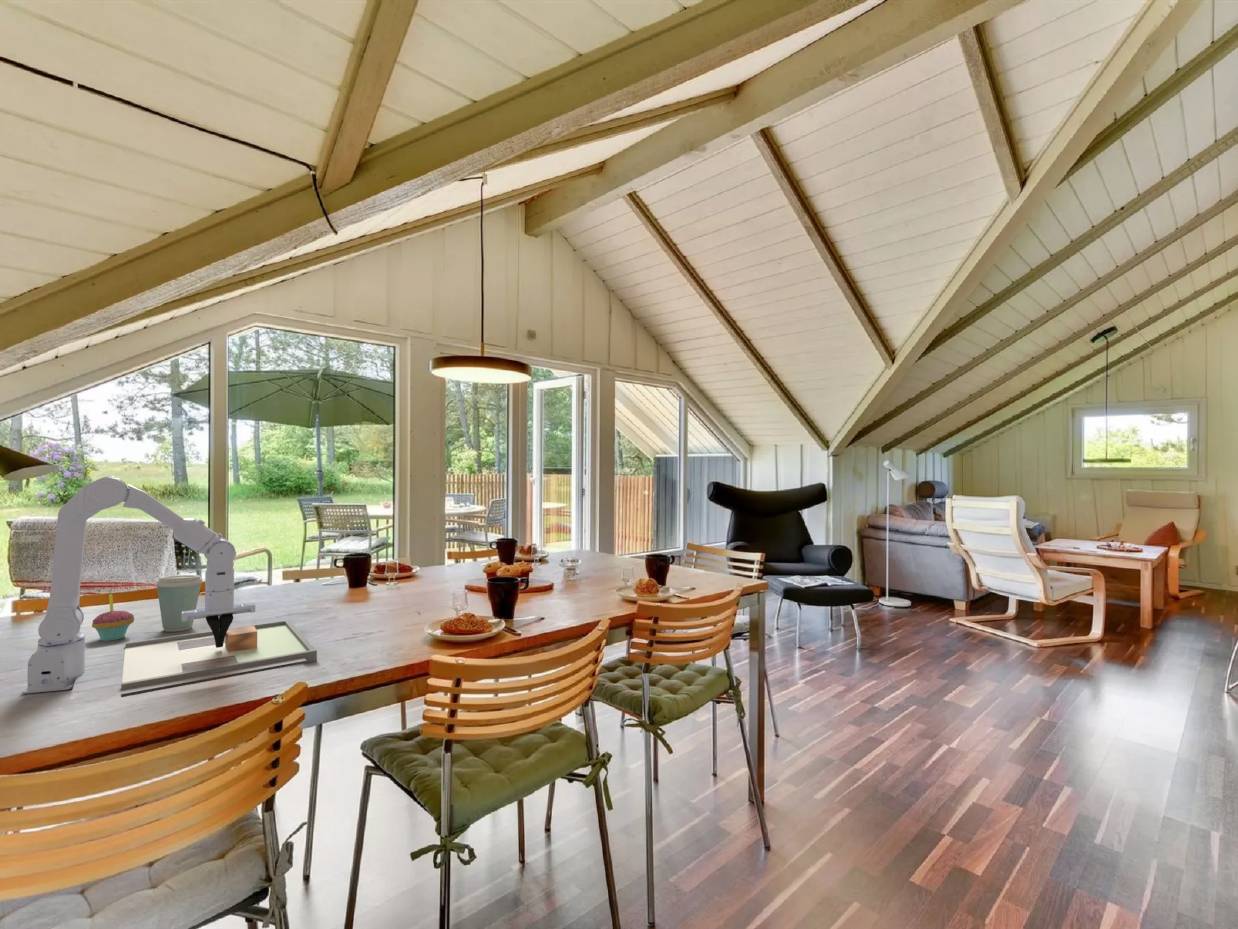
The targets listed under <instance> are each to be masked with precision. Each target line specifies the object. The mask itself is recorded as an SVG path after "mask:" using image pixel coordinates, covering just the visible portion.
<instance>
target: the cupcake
mask: <svg viewBox="0 0 1238 929" xmlns="http://www.w3.org/2000/svg"><path fill="white" fill-rule="evenodd" d="M108 597H109V598H108V599H109V611H107V612H102V613H100V614H98V615H97V616H96V617H95V618H93V619H92V624H91V627H92V628H93V629H95V630H96V632H97V633H98V636H99V639H100V640H101V641H104V642H106V641H109V642H110V641H115V640H120V639H123V638H124V637H126V633H127V630H128V629H129V627H130V625H131V624H133V623H134V621H135V617H134V616H135V615H134V614H132V613H130V612H129V611H127V610H126V611H125V610H114V601H113V600H114V597H113V594H112V592H111V591H109V595H108Z"/></svg>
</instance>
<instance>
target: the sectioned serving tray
mask: <svg viewBox="0 0 1238 929" xmlns="http://www.w3.org/2000/svg"><path fill="white" fill-rule="evenodd" d="M250 626H254V627H255V628H256V630H257V648H253V649H246V650H240V651H234V652H227V649H226V647H225V642H224V643H223V647H219V648H216V645H215V644H213V645H212V644H210V645H207V646H206V645H205V646H198V647H192V648H186V649H179V645H178V644H179V643H184V642H189V641H191V642H192V641H196V640H203V639H210V638H214V635H213V632H212V630H211V629H210V630H207V631H206V630H205V631H199V632H192V633H191V632H190V633H185V634H184V633H183V634H176V635H170V636H169V635H168V636H163V637H155V638H149V639H148V638H147V639H142V640H135V641H134V640H133V641H128V642H127V641H126V642H125V644H124V645H125V648H124V658H123V659H124V660H123V668H122V676H121V686H120V687H121V688H120V690H122V691H124V690H127V689H133V688H139V687H145V686H149V685H150V686H151V685H155V684H156V685H157V684H161V683H167V682H174V681H178V680H184V679H189V678H196V677H200V676H207V675H211V674H218V673H223V672H228V671H236V670H240V669H245V668H251V667H252V668H253V667H256V666H261V665H268V664H274V663H279V662H280V663H281V662H285V661H291V660H297V659H301V658H304V659H305V660H303V661H297V662H296V661H295V662H290V663H285V664H279V665H274V666H270V667H263V668H257V669H252V670H246V671H241V672H236V673H230V674H226V675H219V676H214V677H209V678H204V679H203V678H202V679H197V680H192V681H187V682H186V681H185V682H181V683H175V684H169V685H165V686H158V687H153V688H149V689H148V688H147V689H141V690H137V691H133V692H132V691H131V692H126V693H121V694H120V696H121V698H125V697H129V696H135V695H141V694H146V693H151V692H156V691H162V690H167V689H168V690H169V689H173V688H178V687H179V688H180V687H184V686H190V685H195V684H200V683H206V682H211V681H217V680H221V679H223V680H224V679H227V678H232V677H237V676H243V675H248V674H249V675H250V674H253V673H260V672H264V671H269V670H270V671H271V670H277V669H281V668H282V669H283V668H287V667H292V666H299V665H304V664H309V663H314V662H317V660H318V659H317V657H318V656H317V655H318V653H317V652H318V650H317V649H316V648H315V646H314V645H312V643H311V642H310V641H309V640H308V639H307V638H306V637H305V636H304V635H303V633H301V631H300V630H299V629H298V628H297V627H296V626H295V624H293V622H292V621H291V620H290V619H284V620H277V621H271V622H270V621H269V622H263V623H255V624H247V625H241V626H233V627H229V628H228V629H235V628H243V627H250ZM232 656H234V657H235V659H236V661H237V662H234V663H229V664H224V665H216V666H211V667H206V668H200V669H194V670H187V671H183V666H182V665H184V664H189V663H190V664H191V663H197V662H203V661H208V660H215V659H220V658H228V657H232Z"/></svg>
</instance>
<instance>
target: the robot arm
mask: <svg viewBox="0 0 1238 929" xmlns="http://www.w3.org/2000/svg"><path fill="white" fill-rule="evenodd" d="M122 502H123V506H122V507H123V508H127V509H129V508H130V509H138V510H140V511H142V512H143V513H145V514H147V515H149V516H151V517H152V518H154V519H156V520H157V521H158V522H159V523H162V524H164V525H165V526H167V527H168V528H169V529H172V531H173V532H172V534H173V539H175V540H176V541H178V542H180V543H181V544H183V545H184V546H185V547H188V548H189V549H190V550H192V551H194V552H195V553H197V554H202V555H204V557H205V559H206V570H205V572H204V573H205V574H204V575H205V576H204V577H205V578H204V580H205V582H204V607H202V608H196V610H190V611H184V612H182V622H183V621H188V620H193V619H194V620H199V619H200V620H201V619H205V621H206V622H207V624H208V627H209V628H210V631H211V630H212V632H213V635H214V637H213V639H214V643H215V644H214V645H216V648H219V647H223V644H224V643H225V635H226V633H227V630H228V628H230V626H231V624H232V622H233V621H234V615H237V614H246V613H252V614H253V613H256V603H254V602H251V603H240V604H239V603H237V604H235V601H234V600H235V599H234V598H235V597H234V596H235V569H234V566H235V565H234V564H235V562H234V560H235V559H236V556H237V551H236V548H235V546H234V544H232V543H231V542H230V541H229V540H228V539H227V538H224V534H222V533H221V532H218V533H217V532H215V531H214V530H212V529H211V528H209V527H208V526H206V525H205V524H206V522H205V521H204V520H202V519H196V518H194V517H189V518H183V517H182V516H181V515H179V514H177V513H176V512H175V511H174V510H172V509H171V508H169V507H168V506H166V505H164V504H163V503H162V502H161V501H159V500H157V499H156V498H154V497H153V496H152V495H150V494H149V493H147V492H146V491H144V490H142V489H140V488H138V487H137V486H134V485H131V484H129V483H128V484H126V482H125V481H123V480H122V479H121V478H119V477H116V476H104V477H100V478H99V479H96V480H94V481H91V482H90V483H87V484H86V485H84V486H82V487H81V488H80V489H79V491H77V492H76V493H75V494H74V495H73V496H72V497H71V498H70V499H69V500H68V501H67V502H66V503H65V504H63V506H61V507H60V509H59V510H58V513H57V522H56V530H55V539H54V540H55V541H54V552H53V558H52V559H53V561H52V569H51V570H52V571H51V579H50V580H51V581H50V589H49V590H50V591H49V598H48V603H47V606H46V614H45V616H44V618H43V620H42V621H41V622H40V623H39V625H38V630H37V631H38V636H39V637H40V638H39V639H38V640H37V649H36V651H35V652H34V653H32V655H31V656H30V657H29V658H28V661H27V688H25V689H24V690H21V694H24V695H25V694H33V693H34V694H35V693H45V692H56V691H66V690H67V691H68V690H71V689H73V688H74V686H75V683H76V680H77V677H80V676H82V675H84V674H85V672H86V671H85V668H86V667H85V666H86V664H85V662H86V660H85V657H86V656H85V655H86V654H85V652H86V646H85V645H86V638H85V637H86V634H85V633H82V632H81V631H80V630H81V625H83V622H84V619H85V617H84V612H83V610H82V609H81V607H80V600H81V598H80V597H81V596H80V595H81V594H80V592H81V582H82V581H81V580H82V570H83V561H84V553H85V552H84V551H85V539H86V532H87V530H86V529H87V520H89V519H90V518H92V517H94V516H96V515H97V514H98V513H100V512H101V511H103V510H106V509H111V508H113V507H115V506H118V505H120V504H121V503H122Z"/></svg>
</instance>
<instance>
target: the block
mask: <svg viewBox="0 0 1238 929" xmlns="http://www.w3.org/2000/svg"><path fill="white" fill-rule="evenodd" d="M224 643H225V647H226V649H227V652H234V651H240V650H246V649H253V648H257V630H256V628H255V627H254V626H250V627H243V628H235V629H228V630H227V633H226V635H225V639H224Z"/></svg>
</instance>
